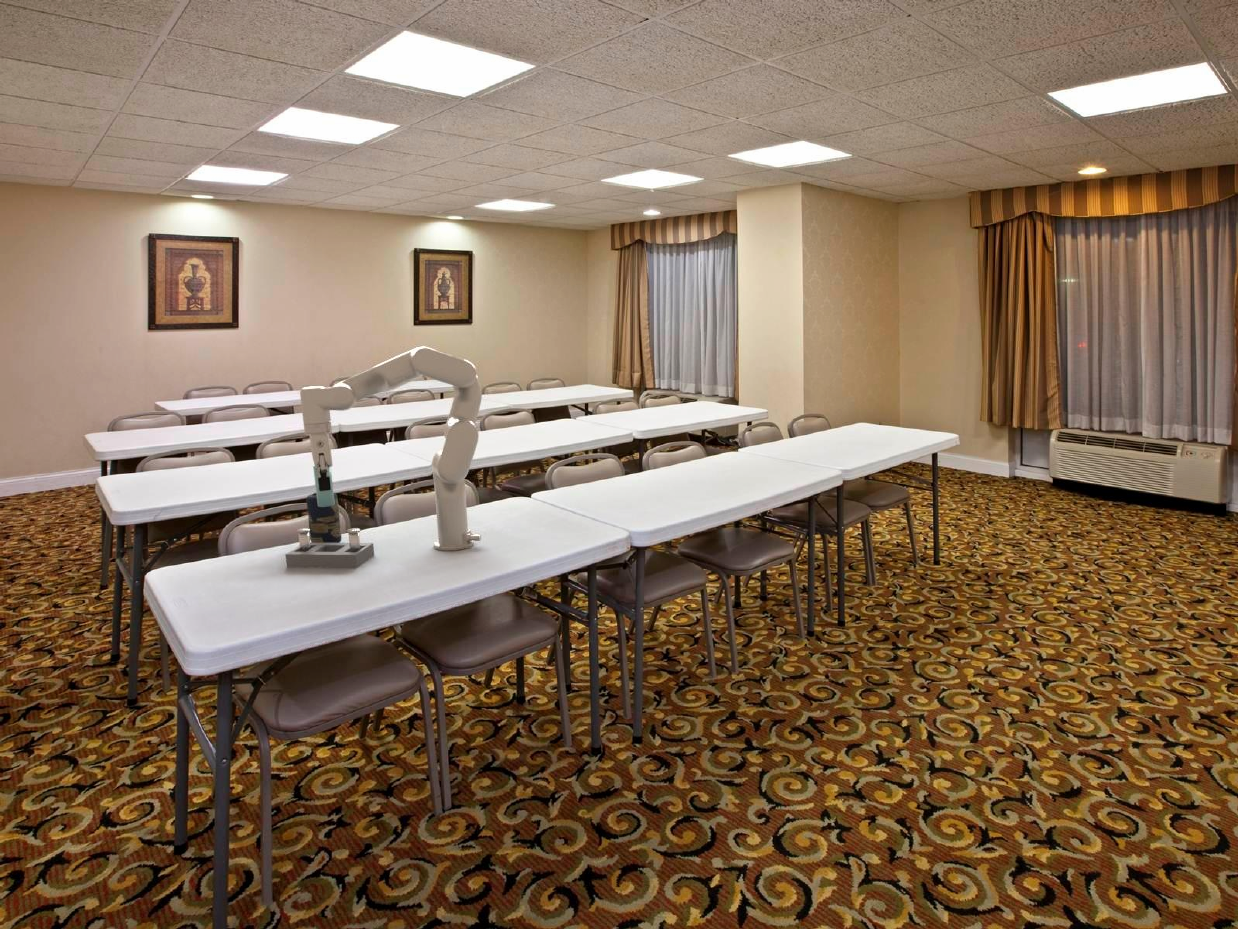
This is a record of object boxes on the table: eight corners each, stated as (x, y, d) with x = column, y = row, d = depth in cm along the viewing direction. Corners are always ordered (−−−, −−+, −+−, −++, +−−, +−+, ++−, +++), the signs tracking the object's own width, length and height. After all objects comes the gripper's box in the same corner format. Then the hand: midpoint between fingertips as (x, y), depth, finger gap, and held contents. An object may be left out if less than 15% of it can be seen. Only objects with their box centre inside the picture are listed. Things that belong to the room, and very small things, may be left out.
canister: (331, 549, 239) (325, 494, 236) (305, 548, 241) (299, 494, 238) (347, 540, 248) (342, 488, 245) (322, 539, 250) (316, 487, 247)
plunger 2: (364, 555, 228) (362, 528, 226) (359, 559, 224) (356, 531, 222) (352, 555, 228) (350, 528, 226) (347, 559, 224) (344, 531, 223)
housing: (374, 555, 232) (373, 543, 231) (357, 567, 220) (355, 555, 219) (307, 554, 234) (306, 542, 233) (286, 567, 222) (285, 554, 222)
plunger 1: (315, 554, 229) (312, 528, 228) (308, 558, 226) (305, 531, 224) (303, 554, 230) (300, 527, 228) (297, 558, 226) (294, 531, 224)
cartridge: (334, 502, 227) (329, 460, 224) (335, 505, 223) (330, 463, 220) (317, 504, 225) (312, 462, 222) (318, 507, 221) (313, 464, 218)
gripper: (333, 431, 213) (339, 492, 217) (329, 424, 228) (336, 482, 232) (305, 433, 210) (312, 495, 214) (303, 426, 225) (310, 484, 229)
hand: (324, 488), depth 223 cm, fingers closed on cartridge, 4 cm apart
